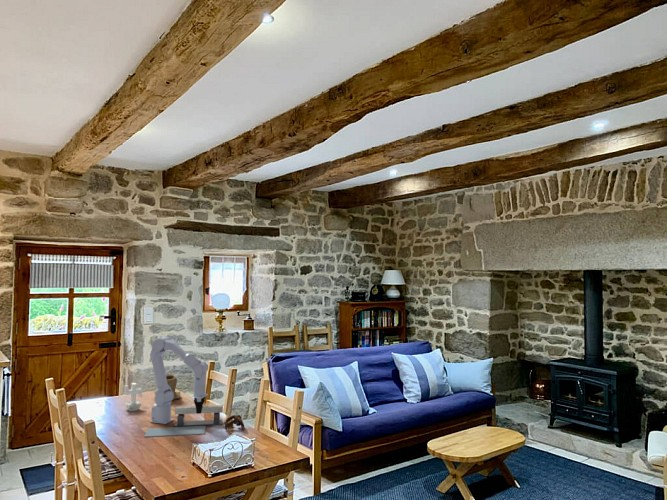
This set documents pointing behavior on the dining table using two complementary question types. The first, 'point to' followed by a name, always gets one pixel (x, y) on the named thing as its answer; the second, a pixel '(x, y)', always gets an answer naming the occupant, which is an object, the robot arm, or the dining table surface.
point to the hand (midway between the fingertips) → (199, 412)
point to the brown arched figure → (234, 422)
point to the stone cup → (173, 385)
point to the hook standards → (198, 423)
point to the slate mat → (175, 431)
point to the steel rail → (204, 410)
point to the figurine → (133, 397)
